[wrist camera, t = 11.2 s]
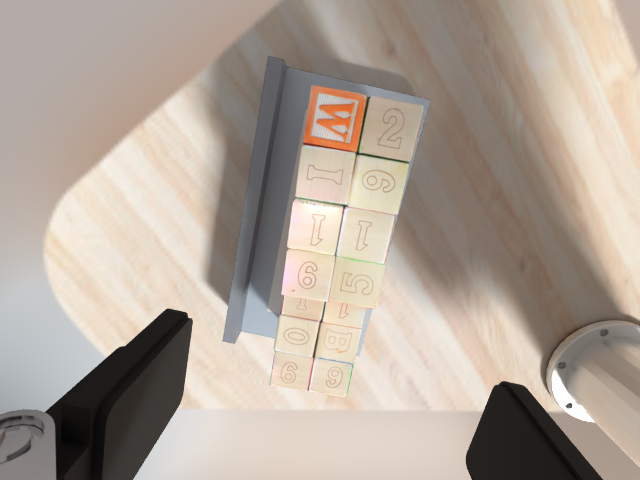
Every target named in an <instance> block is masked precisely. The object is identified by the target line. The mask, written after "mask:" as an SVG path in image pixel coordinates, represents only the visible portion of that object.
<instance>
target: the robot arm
mask: <svg viewBox="0 0 640 480" xmlns="http://www.w3.org/2000/svg"><path fill="white" fill-rule="evenodd" d="M192 324H193V320H192V319H191V318H188V314H187V313H186V312H182V311H177V310H173V309H166V310H165V311H164V312H163V313H161V314H160V315H159V316H158V317H157V318H156V319H155V320H154V321H153V322H151V323H150V324H149V325H148V326H147V327H146V328H145V329H144V330H143V331H141V332H140V333H139V334H138V335H137V336H136V337H135V338H134V339H133V340H132V341H130V342H129V343H128V344H127V345H126V346H123V347H119V348H118V349H116V350H115V351H114V352H113V353H112V354H110V355H109V356H108V357H107V358H106V359H105V360H104V361H102V362H101V363H100V364H99V365H98V366H97V367H96V368H95V369H93V370H92V371H91V372H90V373H89V374H88V375H87V376H85V377H84V378H83V379H82V380H81V381H80V382H79V383H77V384H76V386H74V387H73V388H72V389H71V390H70V391H68V392H67V393H66V394H65V395H64V396H63V397H62V398H60V399H59V400H58V401H57V402H56V403H55V404H54V405H53V406H51V407H50V408H49V409H48V410H47V411H46V412H42V411H38V410H17V411H10V412H7V413H3V414H0V480H133V479H134V477H135V475H136V474H137V472H138V470H139V469H140V467H141V466H142V464H143V463H144V461H145V459H146V458H147V456H148V455H149V453H150V451H151V450H152V448H153V447H154V445H155V443H156V442H157V440H158V439H159V437H160V435H161V434H162V432H163V431H164V429H165V427H166V426H167V424H168V422H169V421H170V419H171V418H172V416H173V415H174V413H175V411H176V410H177V408H178V406H179V405H180V402H181V400H182V396H183V391H184V384H185V376H186V369H187V361H188V354H189V346H190V339H191V331H192ZM546 381H547V387H548V390H549V392H550V394H551V396H552V398H553V399H554V400H555V401H556V403H557V404H558V405H559V406H560V407H561V408H562V409H563V410H564V411H565V412H567V413H568V414H570V415H571V416H573V417H576V418H578V419H581V420H585V421H590V422H595V423H596V424H597V425H598V426H599V427H600V428H601V429H602V430H603V431H604V432H605V433H606V434H607V435H608V436H609V437H610V438H611V439H612V440H613V441H614V442H615V443H616V444H617V445H618V446H619V447H620V448H621V449H622V450H623V451H624V452H625V453H626V454H627V455H628V456H629V457H630V458H631V459H632V460H633V461H634V462H635V463H636V464H637V465H638V466H639V467H640V326H639V325H637V324H634V323H631V322H627V321H620V320H609V321H601V322H597V323H593V324H590V325H587V326H585V327H583V328H581V329H579V330H577V331H575V332H574V333H573V334H571V335H570V336H568V337H567V338H566V339H565V340H564V341H563V342H562V343H561V344H560V345H559V346H558V347H557V349H556V350H555V351H554V353H553V355H552V357H551V359H550V361H549V364H548V368H547V374H546ZM466 466H467V469H468V472H469V474H470V476H471V479H472V480H603V479H602V478H601V477H600V476H599V475H598V473H597V472H596V471H595V470H594V468H593V467H592V466H591V465H590V464H589V462H588V461H587V460H586V459H585V458H584V457H583V455H582V454H581V453H580V452H579V450H578V449H577V448H576V447H575V446H574V444H573V443H572V442H571V441H570V440H569V438H568V437H567V436H566V435H565V434H564V432H563V431H562V430H561V429H560V428H559V426H558V425H557V424H556V423H555V422H554V421H553V419H552V418H551V417H550V416H549V414H548V413H547V412H546V411H545V410H544V408H543V407H542V406H541V405H540V404H539V402H538V401H537V400H536V399H535V398H534V396H533V395H532V394H531V393H530V392H529V390H528V389H527V388H526V387H525V386H523V385H519V384H515V383H510V382H505V381H503V382H501V383H500V384H499V385H495V386H494V388H493V389H492V392H491V394H490V397H489V399H488V402H487V404H486V407H485V409H484V412H483V414H482V417H481V419H480V422H479V424H478V427H477V429H476V432H475V434H474V437H473V439H472V442H471V444H470V447H469V449H468V451H467V454H466Z"/></svg>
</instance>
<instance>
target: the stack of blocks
mask: <svg viewBox="0 0 640 480" xmlns="http://www.w3.org/2000/svg"><path fill="white" fill-rule="evenodd" d="M423 110H424V106H422V105H418V104H412V103H407V102H402V101H397V100H392V99H387V98H382V97H377V96H370V97H367V96H366V95H364V94H360V93H355V92H349V91H344V90H339V89H333V88H328V87H322V86H315V85H312V86H311V91H310V98H309V105H308V112H307V118H306V125H305V131H304V138H303V145H302V147H301V153H300V161H299V169H298V176H297V184H296V192H295V198H294V200H293V202H292V209H291V218H290V225H289V232H288V240H287V252H286V259H285V267H284V274H283V282H282V289H281V295H284V297H283V303H282V308H281V311H280V314H279V318H278V324H277V330H276V337H275V343H274V350H275V355H274V361H273V367H272V373H271V379H270V385H273V386H279V387H284V388H290V389H295V390H301V391H311V392H316V393H322V394H328V395H333V396H339V397H346V396H347V393H348V388H349V383H350V378H351V374H352V369H353V364H354V362H355V359H356V354H357V349H358V345H359V340H360V336H361V331H362V327H363V323H364V319H365V314H366V309H367V308H370V309H376V306H377V301H378V297H379V292H380V288H381V283H382V279H383V274H384V270H385V259H386V255H387V251H388V247H389V242H390V237H391V233H392V229H393V225H394V219H395V216H396V215H397V214H398V211H399V207H400V203H401V199H402V194H403V190H404V186H405V182H406V177H407V173H408V169H409V162H410V161H411V159H412V155H413V151H414V147H415V143H416V139H417V135H418V131H419V127H420V123H421V119H422V115H423Z"/></svg>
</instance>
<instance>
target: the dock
mask: <svg viewBox="0 0 640 480" xmlns="http://www.w3.org/2000/svg"><path fill="white" fill-rule="evenodd" d="M312 85H315V86H322V87H328V88H333V89H339V90H344V91H349V92H355V93H360V94H364V95H366V96H367V97H370V96H377V97H382V98H387V99H392V100H397V101H402V102H407V103H412V104H418V105H422V106H424V110H423V115H422V119H421V123H420V127H419V131H418V135H417V139H416V143H415V147H414V151H413V155H412V159H411V161H410V162H409V169H408V173H407V177H406V182H405V186H404V190H403V194H402V199H401V203H400V207H399V211H400V208H401V204H402V201H403V197H404V193H405V190H406V186H407V183H408V179H409V176H410V172H411V168H412V165H413V161H414V158H415V154H416V150H417V147H418V143H419V140H420V136H421V133H422V129H423V125H424V122H425V118H426V115H427V111H428V107H429V104H430V100H429V99H424V98H420V97H416V96H411V95H407V94H403V93H398V92H394V91H389V90H385V89H381V88H376V87H372V86H367V85H363V84H359V83H354V82H350V81H346V80H341V79H337V78H332V77H328V76H324V75H319V74H315V73H311V72H306V71H302V70H297V69H293V68H289V67H287V66H286V64H285V62H284V60H283V59H279V58H275V57H271V56H268V61H267V67H266V73H265V80H264V86H263V92H262V98H261V105H260V111H259V117H258V123H257V130H256V136H255V142H254V148H253V155H252V161H251V167H250V173H249V180H248V186H247V192H246V198H245V204H244V211H243V217H242V223H241V229H240V236H239V242H238V248H237V254H236V261H235V267H234V273H233V279H232V286H231V292H230V298H229V304H228V311H227V317H226V323H225V329H224V336H223V341H224V342H229V343H233V344H235V342H236V340H237V338H238V336H239V334H240V332H241V331H242V332H246V333H251V334H256V335H261V336H265V337H270V338H275V337H276V330H277V324H278V318H279V314H280V311H281V308H282V303H283V297H284V295H281V289H282V282H283V274H284V267H285V259H286V252H287V240H288V232H289V225H290V218H291V209H292V202H293V200H294V198H295V192H296V184H297V176H298V169H299V161H300V153H301V147H302V145H303V138H304V131H305V125H306V118H307V112H308V105H309V98H310V91H311V86H312ZM399 211H398V214H397V215H396V216H395V219H394V225H393V229H392V233H391V237H390V242H389V247H390V244H391V240H392V236H393V233H394V229H395V226H396V222H397V219H398V215H399ZM389 247H388V251H389ZM388 251H387V254H388ZM386 258H387V255H386ZM385 262H386V259H385ZM371 312H372V309H370V308H367V309H366V314H365V319H364V323H363V327H362V331H361V336H360V340H359V345H358V349H357V354H356V356H359V355H360V351H361V348H362V344H363V340H364V337H365V333H366V330H367V326H368V322H369V319H370V315H371Z"/></svg>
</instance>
